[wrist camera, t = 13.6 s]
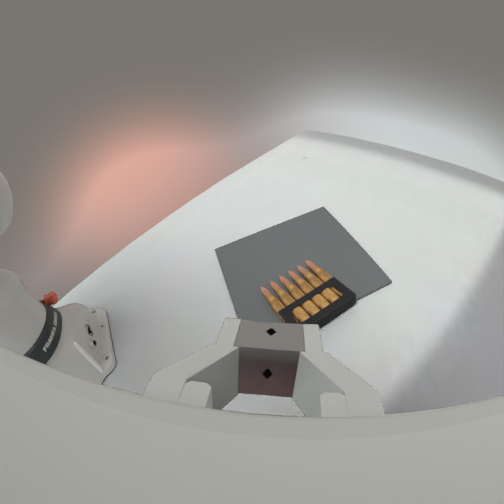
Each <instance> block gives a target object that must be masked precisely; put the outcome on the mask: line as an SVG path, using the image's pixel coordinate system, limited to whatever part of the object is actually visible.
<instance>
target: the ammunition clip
mask: <svg viewBox="0 0 504 504" xmlns="http://www.w3.org/2000/svg"><path fill="white" fill-rule="evenodd" d="M305 263H306V265H307V266H308V268H309V269H310V270H311V271H312V272H313V273H314V274H315V275H316V276H315V275H313V274H311V273H310V272H309V271H308V270H306V269H305V268H304V267H302V266H299V265H297V269H298V271H299V272H300V274H301V275H302V276H303V277H304V278H305V279H306V280H307V281H305V280H303V279H302V278H301V277H300V276H298V275H297V274H296V273H294V272H293V271H290V270H288V274H289V276H290V277H291V279H292V280H293V281H294V282H295V283H296V285H297V286H298V287H299V288H298V287H296V286H295V285H293V284H292V283H291V282H290V281H289V280H288V279H286V278H285V277H283V276H279V279H280V281H281V283H282V284H283V285H284V287H285V288H286V289H287V290H288V292H289V294H290V295H291V296H292V297H293V298H294V299H295V300H294V299H293V298H292V297H291V296H290V295H289V294H288V293H287V292H285V291H284V290H283V289H282V288H281V287H280V286H279V285H278V284H276V283H275V282H273V281H270V285H271V287H272V289H273V290H274V292H275V293H276V294H277V296H278V297H279V299H280V301H281V302H282V303H283V304H284V305H285V306H286V307H285V306H284V305H283V304H282V303H281V302H280V301H279V299H277V298H276V297H275V296H274V295H273V294H272V293H271V292H270V291H269V290H267V289H266V288H264V287H262V286H261V287H260V288H261V292H262V294H263V295H264V297H265V298H266V300H267V301H268V303H269V305H270V306H271V308H272V309H273V310H274V311H275V313H276V314H277V315H278V316H279V318H280V319H281V321H282V322H283V323H291V324H318V325H319V328H320V327H322V326H323V325H325V324H326V323H328V322H329V321H331V320H332V319H333V318H335V317H336V316H338V315H339V314H341V313H342V312H344V311H345V310H346V309H348V308H349V307H351V306H352V305H353V304H355V303H356V294H355V293H354V292H353V291H352V290H350V289H349V288H348V287H346V286H345V285H344V284H343V283H341V282H340V281H339V280H337V279H336V278H335V277H331V276H330V275H329V274H328V273H327V272H326V271H324V270H323V269H321V268H319V267H318V266H316V265H315V264H314V263H312V262H311V261H308V260H305ZM305 311H306V312H305ZM294 317H295V318H296V319H297V320H298V321H297V320H296V319H295V318H294Z"/></svg>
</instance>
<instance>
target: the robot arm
mask: <svg viewBox="0 0 504 504" xmlns="http://www.w3.org/2000/svg"><path fill="white" fill-rule="evenodd" d="M12 210H13V204H12V195H11V191H10V187H9V185H8V183H7V181H6V179H5V177H4V176H3V174H2V173H1V172H0V236H1V234H2V233H3V232H4V230H5V229H6V228H7V227H8V225H9V224H10V221H11V218H12ZM57 301H58V298H57V295H56V294H55V293H54V292H51V293H49V294H48V295H45V296H44V300H42V301H40V300H38V299H37V298H36V297H35V295H34V294H33V293H32V292H31V291H30V290H29V289H28V287H27V286H26V285H25V284H24V283H23V282H22V280H21V279H20V278H19V277H18V276H17V275H16V274H15V273H13V272H11V271H9V270H5V269H0V504H504V395H501V396H497V397H493V398H489V399H485V400H481V401H476V402H472V403H467V404H462V405H457V406H451V407H445V408H439V409H432V410H425V411H418V412H409V413H400V414H389V415H385V412H384V409H383V405H382V402H381V399H380V396H379V393H378V391H377V390H376V389H375V388H373V387H372V386H371V385H369V384H368V383H367V382H365V381H364V380H363V379H361V378H360V377H359V376H357V375H356V374H355V373H353V372H352V371H351V370H350V369H348V368H347V367H346V366H344V365H343V364H342V363H340V362H339V361H338V360H337V359H335V358H334V357H333V356H331V355H330V354H329V353H324V352H323V346H322V340H321V335H320V329H319V325H318V324H291V323H272V322H263V321H254V320H244V319H242V320H241V319H236V318H226V319H225V320H224V323H223V325H222V328H221V331H220V333H219V336H218V339H217V342H216V344H210V345H208V346H206V347H204V348H202V349H201V350H199V351H197V352H195V353H193V354H191V355H189V356H187V357H185V358H183V359H181V360H179V361H177V362H175V363H173V364H171V365H169V366H167V367H165V368H163V369H161V370H159V371H157V372H155V373H154V375H153V376H152V378H151V380H150V382H149V383H148V385H147V387H146V389H145V390H144V392H143V394H142V395H140V394H136V393H132V392H128V391H124V390H121V389H117V388H114V387H110V386H107V385H103V384H102V382H103V380H104V379H105V377H106V376H107V375H108V374H109V373H110V372H111V371H112V370H113V369H114V367H115V365H116V361H115V356H114V351H113V346H112V341H111V335H110V329H109V323H108V317H107V312H106V311H105V310H104V309H102V308H92V309H88V308H87V307H85V306H84V305H82V304H79V303H72V304H68V305H65V306H62V307H58V308H53V307H51V306H50V305H51V304H55V303H57ZM265 392H266V393H265ZM238 393H243V394H257V395H270V396H281V397H292V399H293V400H294V402H295V403H296V404H297V406H298V407H299V408H300V410H301V411H302V412H303V414H304V415H305V416H306V417H298V416H278V415H265V414H253V413H243V412H234V411H226V410H221V409H222V408H223V407H225V406H226V405H227V404H228V403H229V402H230V401H231V400H232V399H233V398H235V397H236V396H237V395H238Z"/></svg>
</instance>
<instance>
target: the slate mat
mask: <svg viewBox="0 0 504 504" xmlns="http://www.w3.org/2000/svg"><path fill="white" fill-rule="evenodd" d="M215 251H216V254H217V257H218V260H219V263H220V266H221V269H222V272H223V276H224V279H225V282H226V285H227V287H228V290H229V293H230V296H231V299H232V302H233V305H234V308H235V311H236V314H237V317H238V319H241V320H242V319H244V320H254V321H263V322H272V323H283V322H282V321H281V319H280V318H279V316H278V315H277V314H276V313H275V311H274V310H273V309H272V308H271V306H270V305H269V303H268V301H267V300H266V298H265V297H264V295H263V294H262V292H261V288H260V287H261V286H262V287H264V288H266V289H267V290H269V291H270V292H271V293H272V294H273V295H274V296H275V297H276V298H277V299H279V297H278V296H277V294H276V293H275V292H274V290H273V289H272V287H271V285H270V281H273V282H275V283H276V284H278V285H279V286H280V287H281V288H282V289H283V290H284V291H285V292H287V293H288V294H289V292H288V290H287V289H286V288H285V287H284V285H283V284H282V283H281V281H280V279H279V276H283V277H285V278H286V279H288V280H289V281H290V282H291V283H292V284H293V285H295V286H296V287H298V286H297V285H296V283H295V282H294V281H293V280H292V279H291V277H290V276H289V274H288V270H290V271H293V272H294V273H296V274H297V275H298V276H300V277H301V278H302V279H303V280H305V281H307V280H306V279H305V278H304V277H303V276H302V275H301V274H300V272H299V271H298V269H297V265H299V266H302V267H304V268H305V269H306V270H308V271H309V272H310V273H311V274H313V275H315V274H314V273H313V272H312V271H311V270H310V269H309V268H308V266H307V265H306V263H305V260H308V261H311V262H312V263H314V264H315V265H316V266H318V267H319V268H321V269H323V270H324V271H326V272H327V273H328V274H329V275H330V276H331V277H335V278H336V279H337V280H339V281H340V282H341V283H343V284H344V285H345V286H346V287H348V288H349V289H350V290H352V291H353V292H354V293H355V294H356V301H357V300H359V299H361V298H363V297H365V296H367V295H369V294H371V293H373V292H375V291H377V290H379V289H381V288H383V287H385V286H387V285H389V284H391V283H392V281H391V280H390V279H389V277H388V276H387V275H386V274H385V273H384V272H383V270H382V269H381V268H380V267H379V266H378V265H377V264H376V262H375V261H374V260H373V259H372V258H371V257H370V256H369V255H368V253H367V252H366V251H365V250H364V249H363V248H362V247H361V246H360V245H359V244H358V242H357V241H356V240H355V239H354V238H353V237H352V236H351V235H350V234H349V233H348V232H347V231H346V230H345V228H344V227H343V226H342V225H341V224H340V223H339V222H338V221H337V220H336V219H335V218H334V217H333V216H332V215H331V214H330V213H329V212H328V211H327V210H326V209H325V208H324V207H321V208H319V209H316V210H314V211H311V212H308V213H306V214H303V215H301V216H298V217H295V218H293V219H290V220H288V221H285V222H283V223H280V224H277V225H275V226H272V227H270V228H267V229H265V230H262V231H260V232H257V233H255V234H252V235H249V236H247V237H244V238H242V239H239V240H237V241H234V242H232V243H229V244H227V245H224V246H222V247H219V248H217V249H215ZM315 276H316V275H315ZM298 288H299V287H298ZM289 295H290V294H289ZM290 296H291V295H290ZM291 297H292V296H291ZM292 298H293V297H292ZM293 299H294V298H293ZM294 300H295V299H294ZM279 301H280V299H279ZM280 302H281V301H280ZM281 303H282V302H281ZM282 304H283V303H282ZM283 305H284V304H283ZM284 306H285V305H284ZM285 307H286V306H285ZM305 312H306V311H305ZM294 318H295V317H294ZM295 319H296V318H295ZM296 320H297V319H296ZM297 321H298V320H297Z"/></svg>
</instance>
